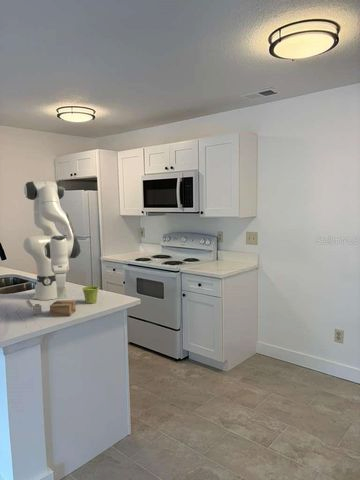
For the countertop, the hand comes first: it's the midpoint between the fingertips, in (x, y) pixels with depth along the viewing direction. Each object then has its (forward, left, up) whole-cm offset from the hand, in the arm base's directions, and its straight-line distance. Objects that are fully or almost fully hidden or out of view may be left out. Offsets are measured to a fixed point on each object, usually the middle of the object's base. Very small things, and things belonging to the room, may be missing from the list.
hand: (61, 293), depth 187 cm
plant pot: (-16, +16, -11) cm, 25 cm away
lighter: (-4, -14, -11) cm, 18 cm away
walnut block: (0, 0, -11) cm, 11 cm away
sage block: (0, 0, -2) cm, 2 cm away
